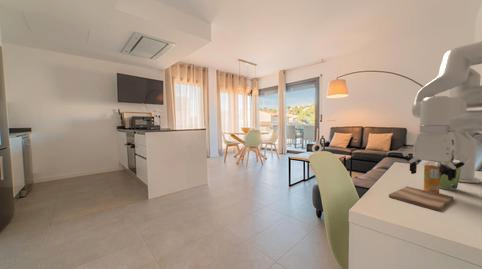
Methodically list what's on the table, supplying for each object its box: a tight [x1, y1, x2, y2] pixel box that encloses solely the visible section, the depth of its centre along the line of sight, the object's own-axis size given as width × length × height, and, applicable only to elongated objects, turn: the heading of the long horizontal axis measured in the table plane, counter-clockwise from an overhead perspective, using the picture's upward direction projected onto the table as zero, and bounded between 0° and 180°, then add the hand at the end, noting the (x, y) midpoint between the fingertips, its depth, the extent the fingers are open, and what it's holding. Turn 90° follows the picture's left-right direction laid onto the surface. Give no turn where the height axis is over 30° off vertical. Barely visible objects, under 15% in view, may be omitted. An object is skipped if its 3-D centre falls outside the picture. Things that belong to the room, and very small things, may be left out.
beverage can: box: [437, 159, 462, 191], centre depth 71 cm, size 6×7×12 cm
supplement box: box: [423, 164, 440, 194], centre depth 67 cm, size 3×3×10 cm
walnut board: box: [388, 186, 454, 212], centre depth 62 cm, size 16×12×1 cm
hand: (430, 176), depth 67 cm, fingers open, 9 cm apart
